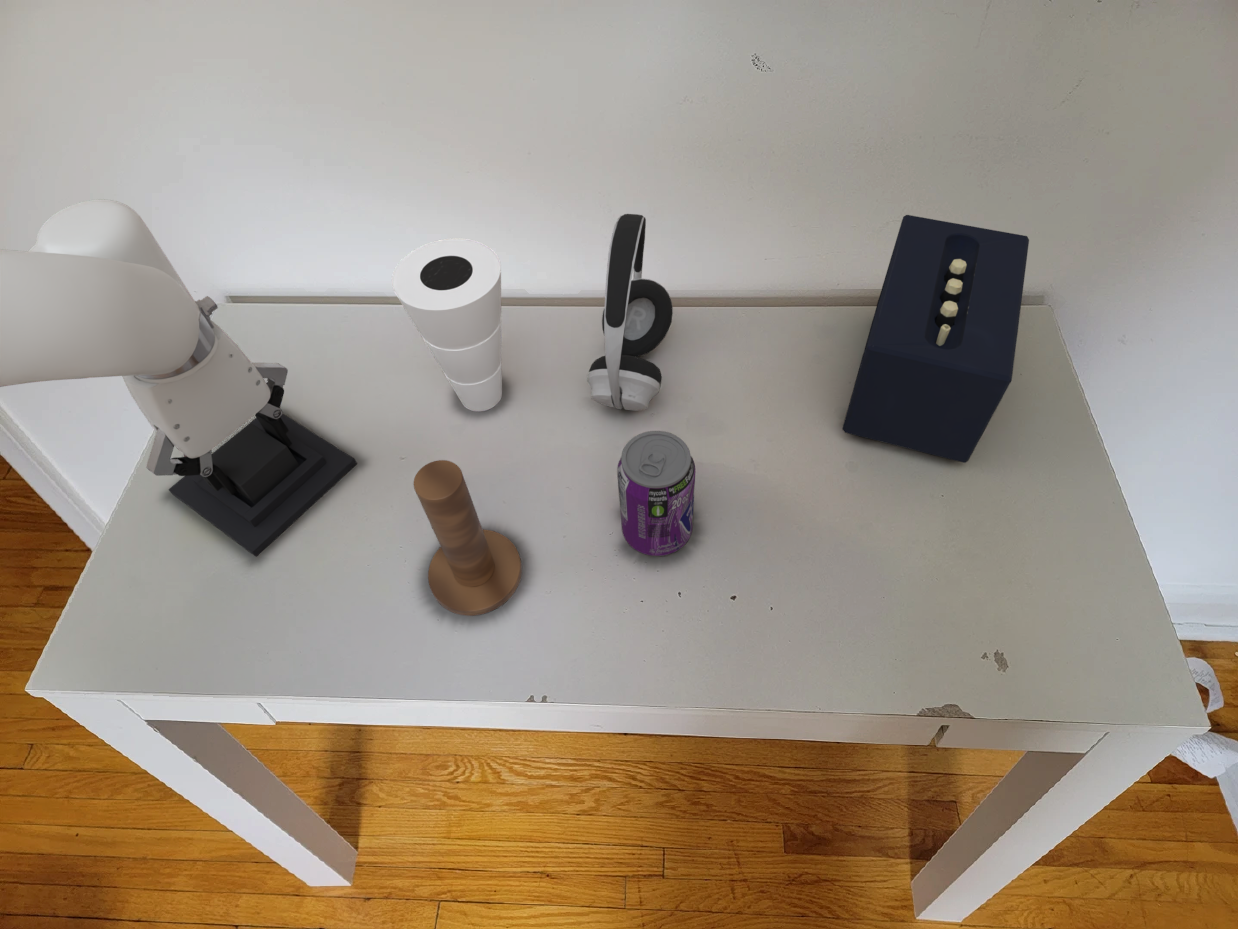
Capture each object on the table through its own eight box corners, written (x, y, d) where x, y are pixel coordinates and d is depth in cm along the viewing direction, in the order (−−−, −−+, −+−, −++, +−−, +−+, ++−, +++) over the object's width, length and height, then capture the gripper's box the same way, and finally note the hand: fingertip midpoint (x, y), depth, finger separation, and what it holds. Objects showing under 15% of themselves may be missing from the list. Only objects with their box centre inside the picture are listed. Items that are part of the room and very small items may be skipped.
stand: (480, 633, 71) (440, 545, 59) (411, 585, 75) (359, 492, 62) (540, 562, 76) (515, 466, 63) (472, 519, 79) (435, 420, 66)
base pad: (256, 557, 77) (246, 546, 76) (172, 494, 83) (161, 482, 81) (357, 463, 84) (350, 451, 82) (274, 411, 89) (266, 398, 87)
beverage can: (675, 570, 74) (677, 501, 65) (610, 544, 76) (602, 474, 67) (702, 513, 78) (708, 440, 68) (639, 490, 80) (636, 416, 70)
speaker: (875, 311, 94) (906, 205, 82) (984, 334, 91) (1033, 228, 79) (838, 441, 83) (868, 340, 71) (962, 473, 80) (1016, 374, 67)
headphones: (608, 317, 96) (598, 173, 80) (675, 321, 95) (678, 176, 79) (582, 436, 85) (564, 297, 69) (658, 442, 84) (657, 302, 68)
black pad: (256, 505, 80) (240, 486, 77) (220, 479, 82) (204, 460, 79) (300, 465, 82) (286, 446, 80) (264, 442, 85) (250, 422, 82)
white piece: (416, 407, 88) (368, 285, 74) (475, 350, 94) (441, 226, 79) (487, 445, 85) (451, 324, 70) (545, 384, 90) (522, 259, 75)
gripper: (220, 270, 72) (293, 397, 86) (50, 386, 64) (163, 504, 78) (272, 298, 69) (339, 425, 84) (102, 423, 61) (208, 539, 75)
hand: (253, 462), depth 81 cm, fingers open, 6 cm apart
